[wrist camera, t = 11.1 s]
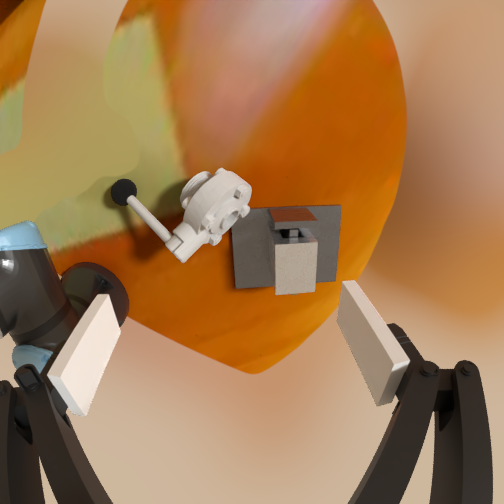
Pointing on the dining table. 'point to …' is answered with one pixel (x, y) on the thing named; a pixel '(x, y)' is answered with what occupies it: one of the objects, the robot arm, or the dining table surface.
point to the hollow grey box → (293, 262)
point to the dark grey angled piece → (287, 221)
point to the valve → (195, 210)
